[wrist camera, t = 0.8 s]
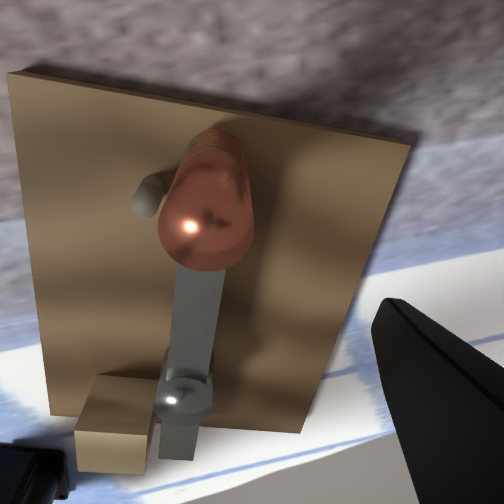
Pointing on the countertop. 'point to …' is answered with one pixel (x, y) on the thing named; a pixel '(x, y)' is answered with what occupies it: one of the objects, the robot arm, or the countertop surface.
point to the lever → (199, 277)
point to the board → (164, 267)
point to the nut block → (116, 426)
